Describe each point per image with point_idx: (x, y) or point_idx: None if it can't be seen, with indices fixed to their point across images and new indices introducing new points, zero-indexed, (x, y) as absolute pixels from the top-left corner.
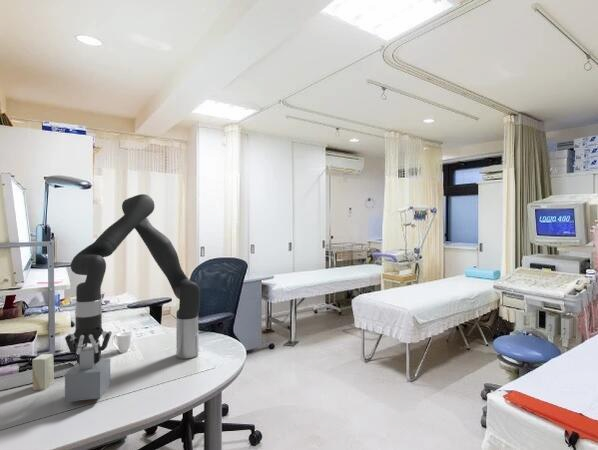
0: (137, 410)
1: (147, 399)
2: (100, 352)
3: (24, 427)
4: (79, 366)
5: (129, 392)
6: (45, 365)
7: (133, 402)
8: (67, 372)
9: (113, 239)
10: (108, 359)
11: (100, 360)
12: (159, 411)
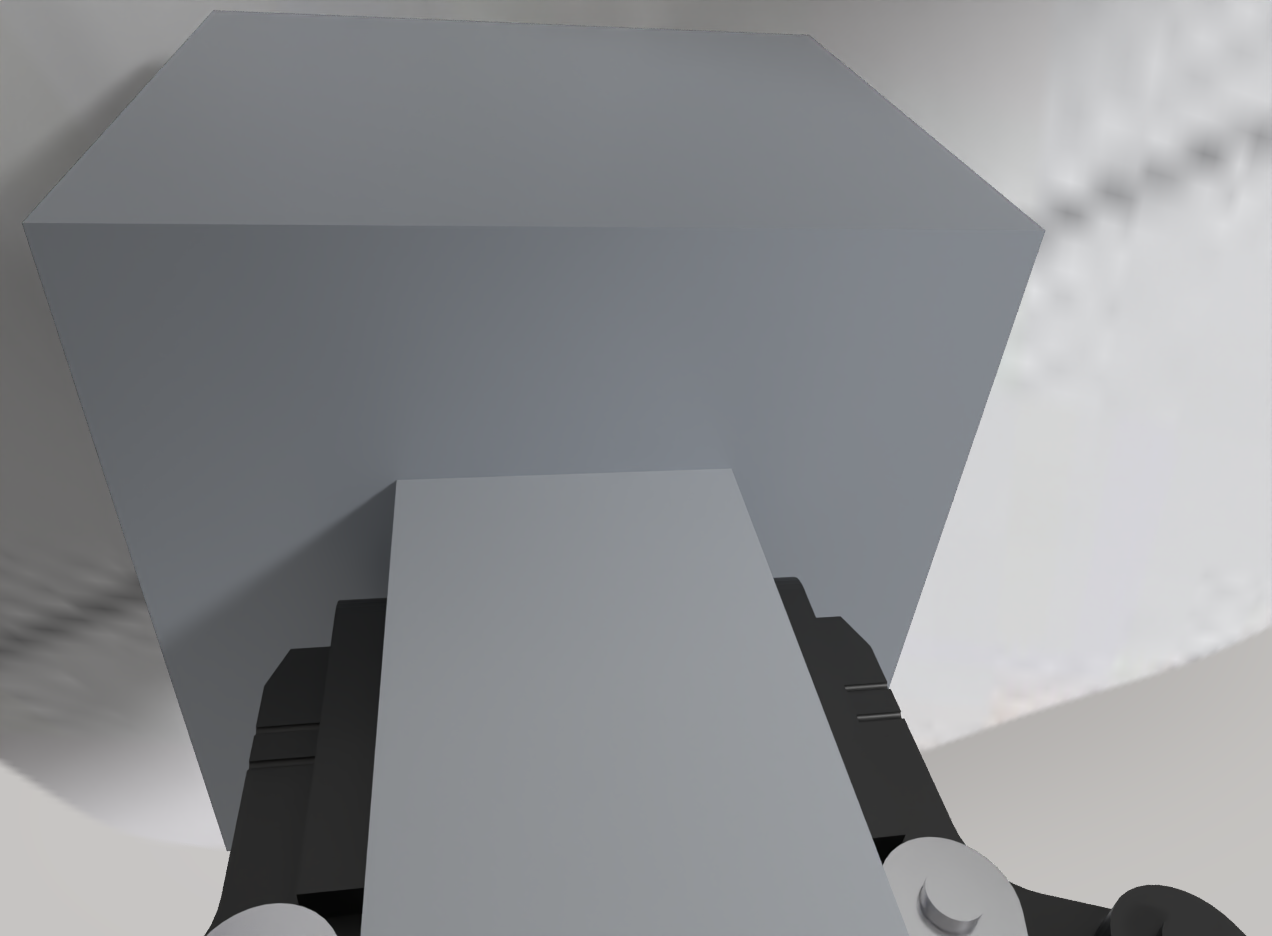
0: (1078, 590)
1: (1206, 430)
2: (941, 809)
3: (97, 697)
4: (323, 580)
5: (1050, 219)
6: None
7: (1064, 461)
8: (217, 790)
9: None
10: (995, 278)
11: (776, 298)
12: (1238, 625)
